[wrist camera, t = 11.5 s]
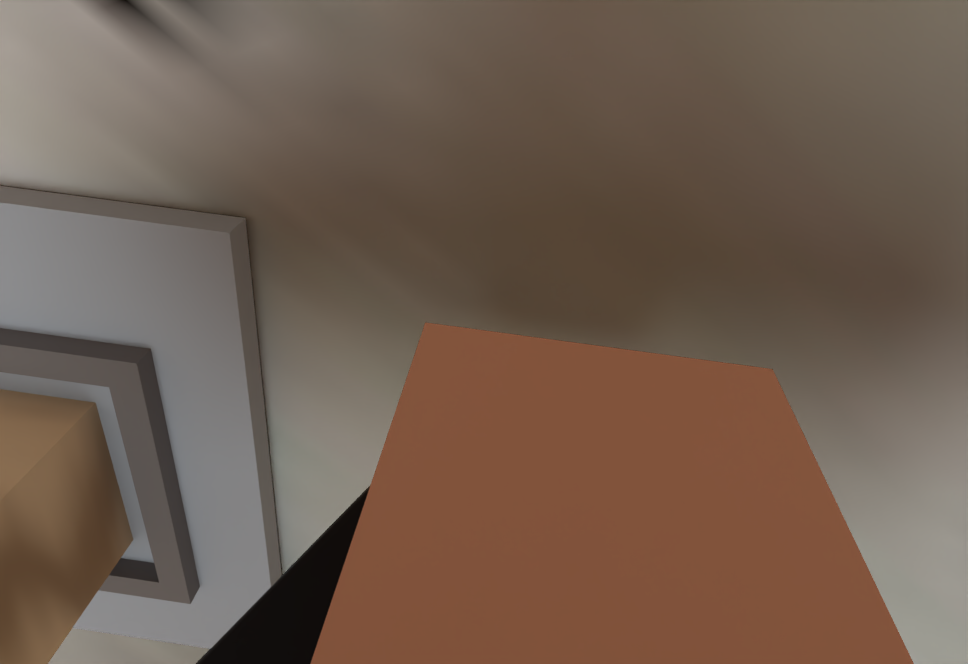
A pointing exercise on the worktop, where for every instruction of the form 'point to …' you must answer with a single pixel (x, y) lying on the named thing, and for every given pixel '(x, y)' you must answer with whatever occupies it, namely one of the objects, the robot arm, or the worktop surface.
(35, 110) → the worktop surface
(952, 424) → the worktop surface
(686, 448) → the terracotta block
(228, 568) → the grey flat square plate
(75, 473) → the oak cube
